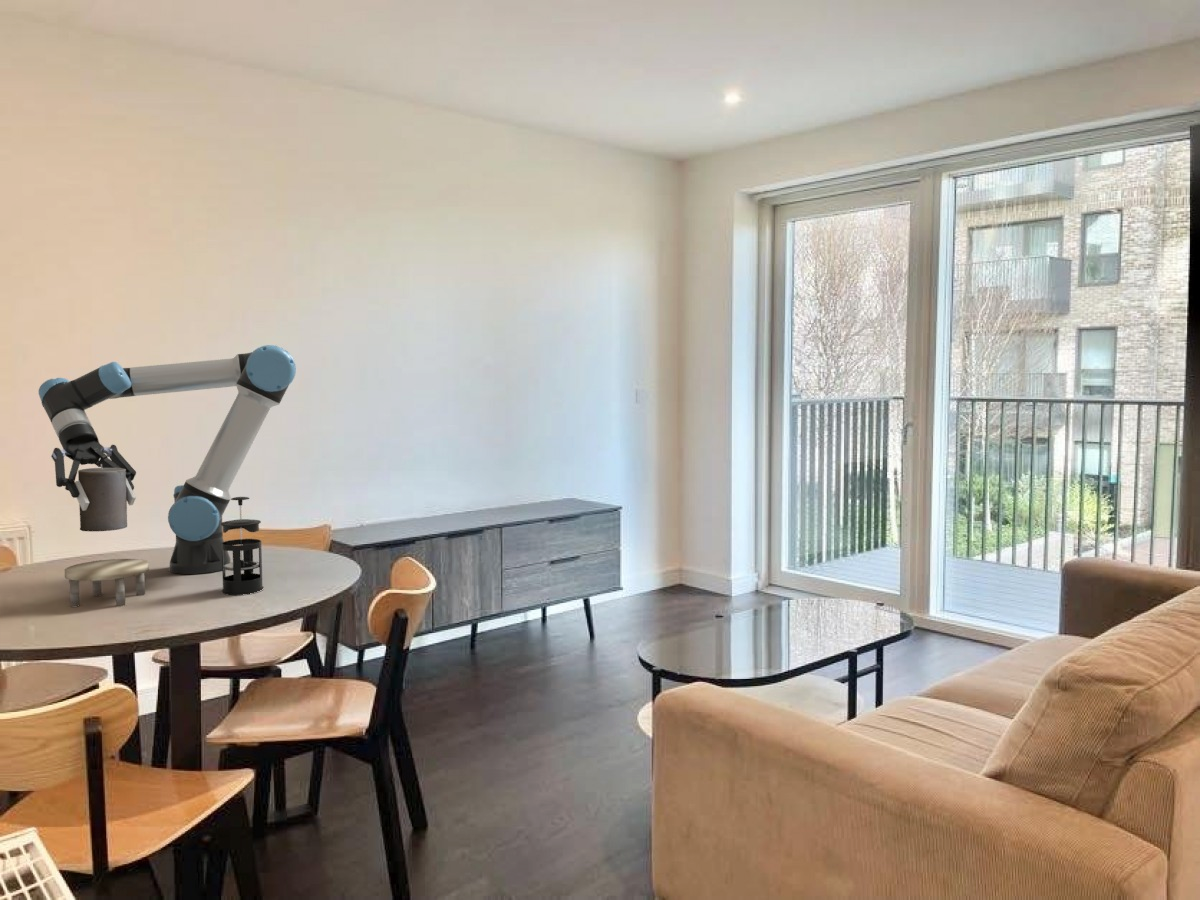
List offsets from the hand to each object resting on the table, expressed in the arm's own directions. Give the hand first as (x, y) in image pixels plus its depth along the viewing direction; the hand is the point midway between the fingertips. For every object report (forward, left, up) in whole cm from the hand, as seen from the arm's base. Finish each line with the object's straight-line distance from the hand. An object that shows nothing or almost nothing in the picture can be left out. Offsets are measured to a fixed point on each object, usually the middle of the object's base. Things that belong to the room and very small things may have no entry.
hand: (109, 504), depth 199 cm
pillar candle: (+2, -2, -6) cm, 7 cm away
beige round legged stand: (+2, -2, -23) cm, 23 cm away
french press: (-26, -10, -23) cm, 36 cm away
